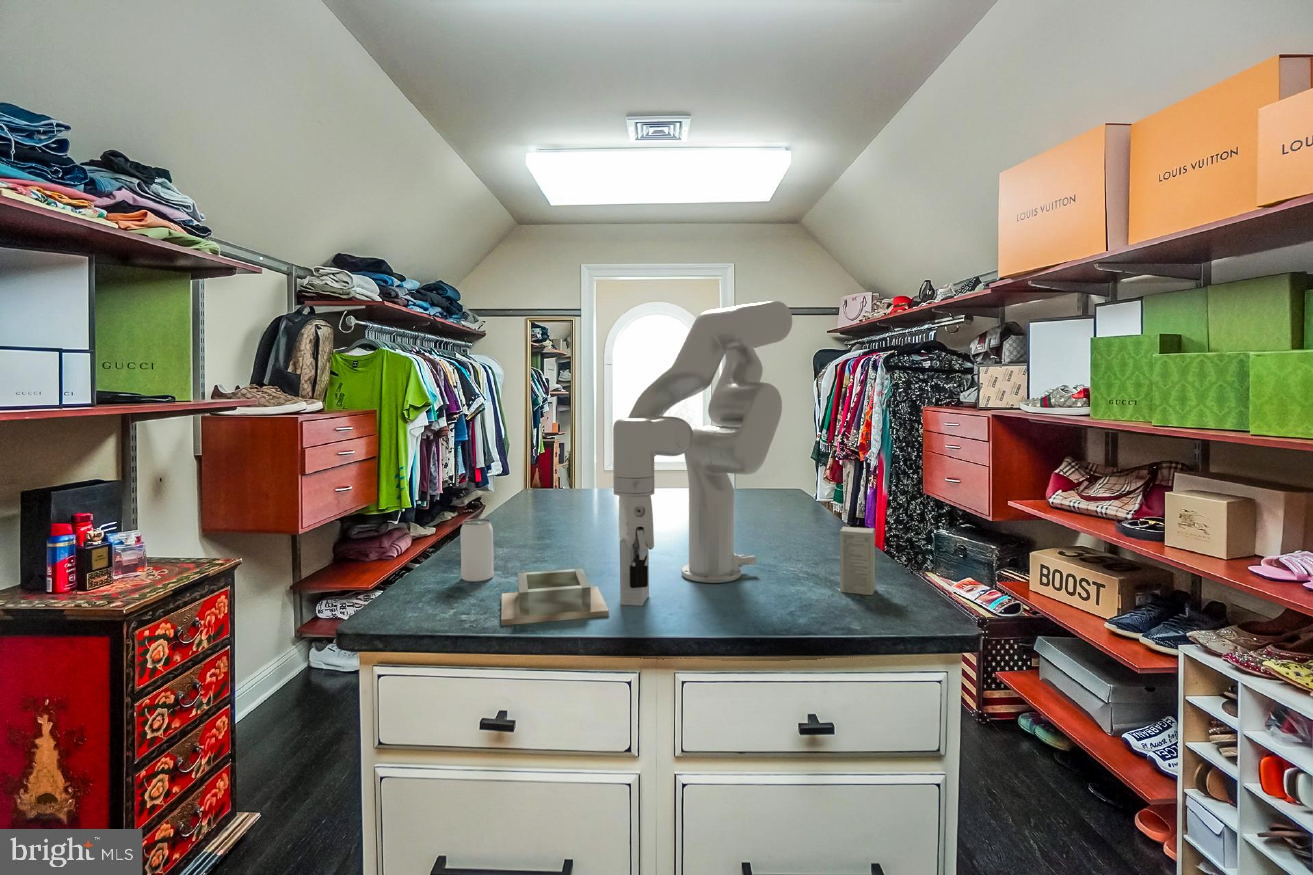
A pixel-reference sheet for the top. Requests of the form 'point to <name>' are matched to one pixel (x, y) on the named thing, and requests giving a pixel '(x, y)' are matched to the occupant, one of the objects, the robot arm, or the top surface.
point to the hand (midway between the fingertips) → (634, 580)
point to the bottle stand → (552, 598)
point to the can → (476, 550)
